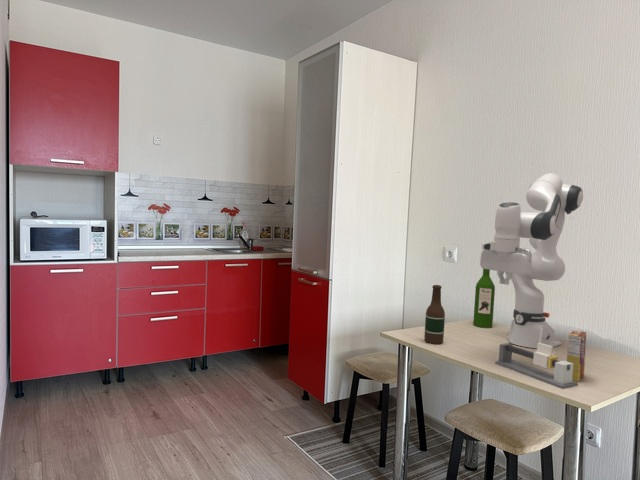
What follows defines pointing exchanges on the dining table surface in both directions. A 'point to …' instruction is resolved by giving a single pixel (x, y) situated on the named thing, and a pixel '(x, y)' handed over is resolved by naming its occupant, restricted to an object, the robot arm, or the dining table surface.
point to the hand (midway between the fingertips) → (504, 284)
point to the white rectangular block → (542, 355)
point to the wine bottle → (484, 301)
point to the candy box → (577, 353)
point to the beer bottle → (435, 318)
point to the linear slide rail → (559, 378)
